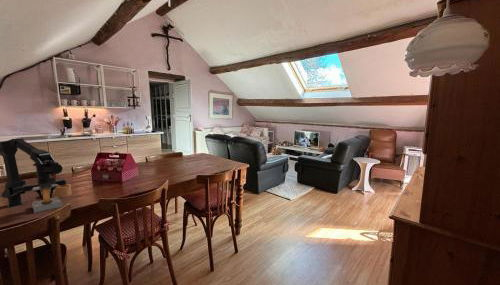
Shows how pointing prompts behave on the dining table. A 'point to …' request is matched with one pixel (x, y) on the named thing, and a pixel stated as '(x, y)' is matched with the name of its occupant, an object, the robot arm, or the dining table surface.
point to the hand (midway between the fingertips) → (46, 199)
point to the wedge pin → (46, 195)
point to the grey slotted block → (46, 204)
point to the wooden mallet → (62, 191)
